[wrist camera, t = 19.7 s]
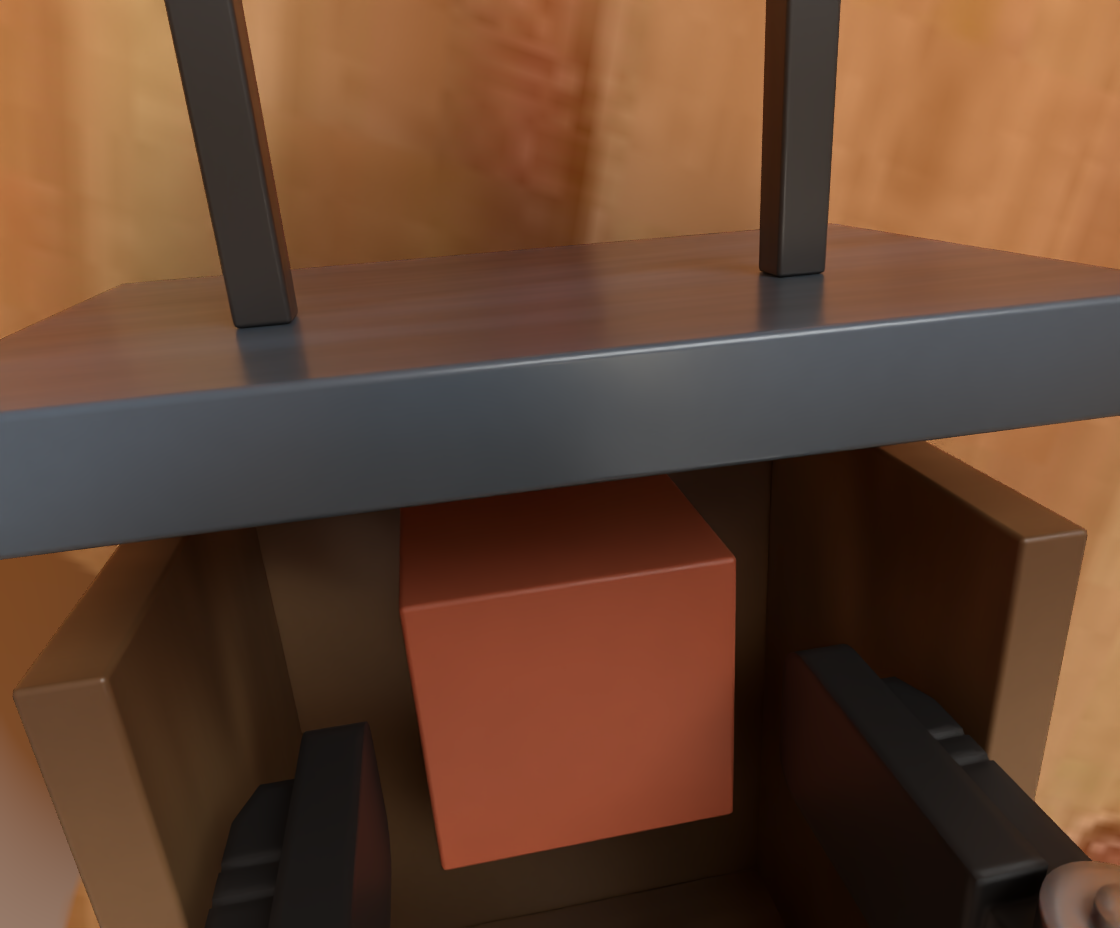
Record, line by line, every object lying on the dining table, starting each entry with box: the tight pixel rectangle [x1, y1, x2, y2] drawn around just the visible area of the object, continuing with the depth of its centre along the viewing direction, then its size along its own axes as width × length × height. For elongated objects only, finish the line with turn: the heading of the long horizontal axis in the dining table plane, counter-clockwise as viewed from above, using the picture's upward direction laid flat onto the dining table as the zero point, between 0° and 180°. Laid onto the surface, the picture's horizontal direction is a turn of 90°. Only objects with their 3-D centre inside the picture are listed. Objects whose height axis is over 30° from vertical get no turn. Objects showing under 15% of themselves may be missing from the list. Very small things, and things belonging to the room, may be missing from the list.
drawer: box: [0, 0, 1120, 928], centre depth 12 cm, size 20×12×7 cm, turn 3°
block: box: [399, 474, 736, 870], centre depth 12 cm, size 4×4×4 cm
